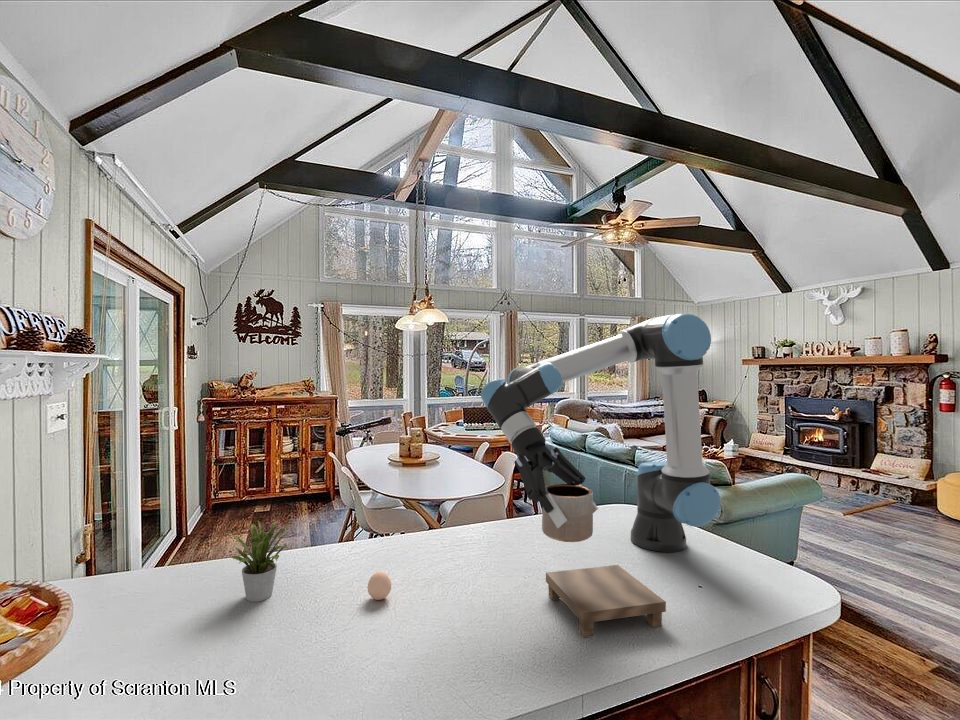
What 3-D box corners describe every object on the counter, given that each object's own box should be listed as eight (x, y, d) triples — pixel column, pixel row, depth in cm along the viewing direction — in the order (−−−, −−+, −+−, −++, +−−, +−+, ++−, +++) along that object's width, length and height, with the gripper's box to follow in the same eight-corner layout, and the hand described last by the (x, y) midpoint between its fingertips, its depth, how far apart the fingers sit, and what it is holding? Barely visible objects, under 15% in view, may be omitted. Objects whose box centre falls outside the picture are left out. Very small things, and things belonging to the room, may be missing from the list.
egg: (365, 595, 111) (365, 569, 111) (388, 591, 113) (388, 565, 113) (369, 606, 106) (370, 578, 106) (393, 602, 108) (394, 574, 108)
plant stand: (617, 586, 117) (617, 564, 117) (665, 626, 100) (665, 601, 100) (545, 594, 112) (545, 572, 112) (582, 639, 95) (583, 612, 95)
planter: (592, 545, 103) (593, 499, 103) (539, 540, 105) (539, 495, 105) (592, 527, 113) (593, 485, 113) (544, 523, 116) (544, 482, 116)
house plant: (313, 589, 113) (314, 517, 113) (263, 618, 101) (264, 537, 101) (267, 577, 119) (267, 508, 119) (214, 602, 107) (215, 526, 107)
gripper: (545, 439, 128) (598, 515, 117) (480, 452, 112) (533, 541, 101) (563, 421, 124) (618, 497, 113) (497, 431, 108) (555, 521, 97)
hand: (578, 518), depth 107 cm, fingers closed on planter, 11 cm apart
